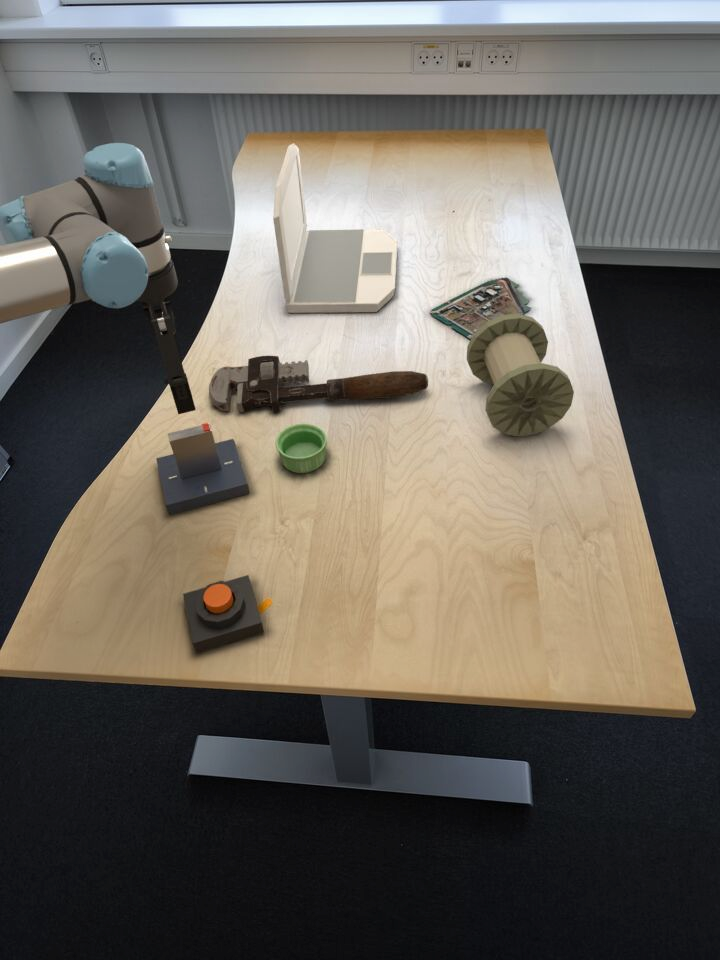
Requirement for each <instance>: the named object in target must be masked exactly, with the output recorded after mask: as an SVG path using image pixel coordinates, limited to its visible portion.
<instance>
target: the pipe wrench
mask: <svg viewBox="0 0 720 960" xmlns="http://www.w3.org/2000/svg"><path fill="white" fill-rule="evenodd" d="M247 361H248V362H247V365H243V366H230V365H229V366H223V367H220V368H218V369H217V370H216V371H215V372H214V373H213V375H212V377H211V379H210V382H209V385H208V397H209V399H210V401H211V402H212V404H213V406H215V407H216V408H217V409H219V410H220V411H221V412H230V410H231V409H230V407H231V396H232V391H233V390H234V389H236V390H237V391H236V402H235V403H236V406H237V407H236V408H237V410H238V413H247V412H249V411H250V410H252V409H253V408H255V407H256V408H257V407H261V406H262V407H263V406H271V409H272V412H273V413H279V412H281V406H282V405H283V404H285V403H292V402H303V401H311V400H313V401H314V400H320V399H321V400H322V399H323V400H324V399H327V400H328V401H329V402H334V401H345V400H369V399H384V398H385V399H386V398H387V399H388V398H399V397H404V396H409V395H415V394H417V393H420V392H421V391H424V390H426V389H427V388H428V387H429V378H428V375H427V374H426V373H422V372H418V371H413V370H401V371H400V370H397V371H395V370H394V371H384V372H378V373H377V372H376V373H369V374H368V373H367V374H362V375H355V376H348V377H342V378H330V379H326V383H316V384H303V385H291V386H290V383H292V384H296V383H297V382H299V383H304V382H305V383H309V382H310V375H309V374H310V371H309V368H310V367H309V361H308V360H307V359H306V360H304V361H302V360H298V361H297V362H296V361H291V363H289V361H286V362H284V363H282V362H280V358H279V356H278V355H260V356H255V357H251V358H248V359H247ZM284 383H285V384H286V385H287V386H281V385H284ZM288 385H289V386H288Z"/></svg>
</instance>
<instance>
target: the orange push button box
mask: <svg viewBox="0 0 720 960" xmlns="http://www.w3.org/2000/svg"><path fill="white" fill-rule="evenodd" d="M249 575H250V574H246V575H243V576H240V577H236V578H232V579H230V580H226V581H225V580H219V581H216V582H212V583H209V584H208V585H206V586H205V587H202V588H199V589H196V590H192V591H188V592H184V593H182V597H183V602H184V607H185V613H186V616H187V621H188V626H189V632H190V637H191V642H192V645H193V647H194V650H195V653H196V654H199V653H203V652H206V651H209V650H212V649H215V648H218V647H222V646H225V645H228V644H232V643H235V642H238V641H242V640H244V639H248V638H251V637H254V636H257V635H262V634H264V633H265V629H264V625H263V622H262V618H261V614H260V611H259V608H258V604H257V600H256V596H255V594H254V590H253V586H252V583H251V579H250V576H249ZM216 584H224V585H226V586H228V587H229V588H230V590H231V593H232V596H233V604H232V606H231V607H230V609H229V610H227V611H226V612H223V613H219V614H215V613H212V612H210V611H209V610H208V609H207V608H206V605H205V602H204V593H205V591H206V590H207V589H208V588H209V587H211V586H213V585H216Z"/></svg>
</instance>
